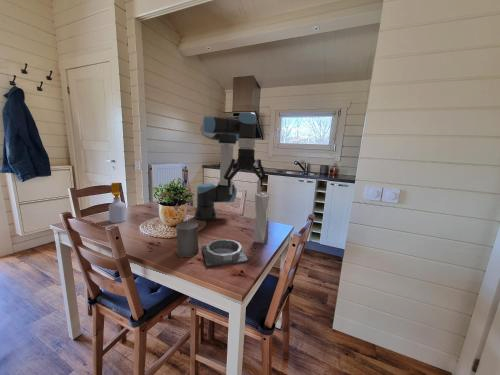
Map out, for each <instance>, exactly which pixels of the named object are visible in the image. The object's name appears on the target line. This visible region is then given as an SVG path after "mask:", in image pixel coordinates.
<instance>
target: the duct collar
mask: <svg viewBox="0 0 500 375" xmlns="http://www.w3.org/2000/svg"><path fill="white" fill-rule="evenodd" d="M201 249H202V253H203V257H204V262H205V266H206V269H207V268H215V267H222V266H223V267H224V266H232V265H237V264H245V263H249V259H248V258H247V257H248V256H247V255H246V254H245V252H244V251H243V246H242V245H241V243H240V242H238V241H236V240H234V239H228V238H222V239H221V238H220V239H215V240H212V241H210V242H208V243H207V244H206V245H202V246H201Z"/></svg>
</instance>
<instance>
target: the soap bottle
mask: <svg viewBox="0 0 500 375" xmlns="http://www.w3.org/2000/svg"><path fill="white" fill-rule="evenodd" d="M110 187H111V194H112V195H113V196H114V197H113V201H112V202H110V204H109V205H108V217H109V222H110V223H113V224H119V223H123V222H126V221H127V209H126V208H127V206H126V203H125V202H123V201H121V198H120V197H119V196H120V195H121V192H120V182H111V183H110Z"/></svg>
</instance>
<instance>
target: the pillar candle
mask: <svg viewBox="0 0 500 375" xmlns="http://www.w3.org/2000/svg"><path fill="white" fill-rule="evenodd" d="M175 230H176V253H177V255H178V257H181V258H193V257H194V256H196V255H197V254H198V253H199V224H198V223H197V222H196V221H192V220H188V221H186V220H185V221H182V222H181V221H180V222H179V223H177V224H176V226H175Z"/></svg>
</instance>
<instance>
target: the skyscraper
mask: <svg viewBox="0 0 500 375" xmlns="http://www.w3.org/2000/svg"><path fill="white" fill-rule="evenodd" d="M254 195H255V196H254V197H255V199H254V201H255V202H254V203H255V204H254V205H255V218H254V229H253V243H256V244H262V245H263V244H264V245H268V241H269V225H270V224H269V219H267V209H268V206H269V200H270V195H269V193H268V192H267V191H260V194H258V193H257V192H256V193H255V194H254Z"/></svg>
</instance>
